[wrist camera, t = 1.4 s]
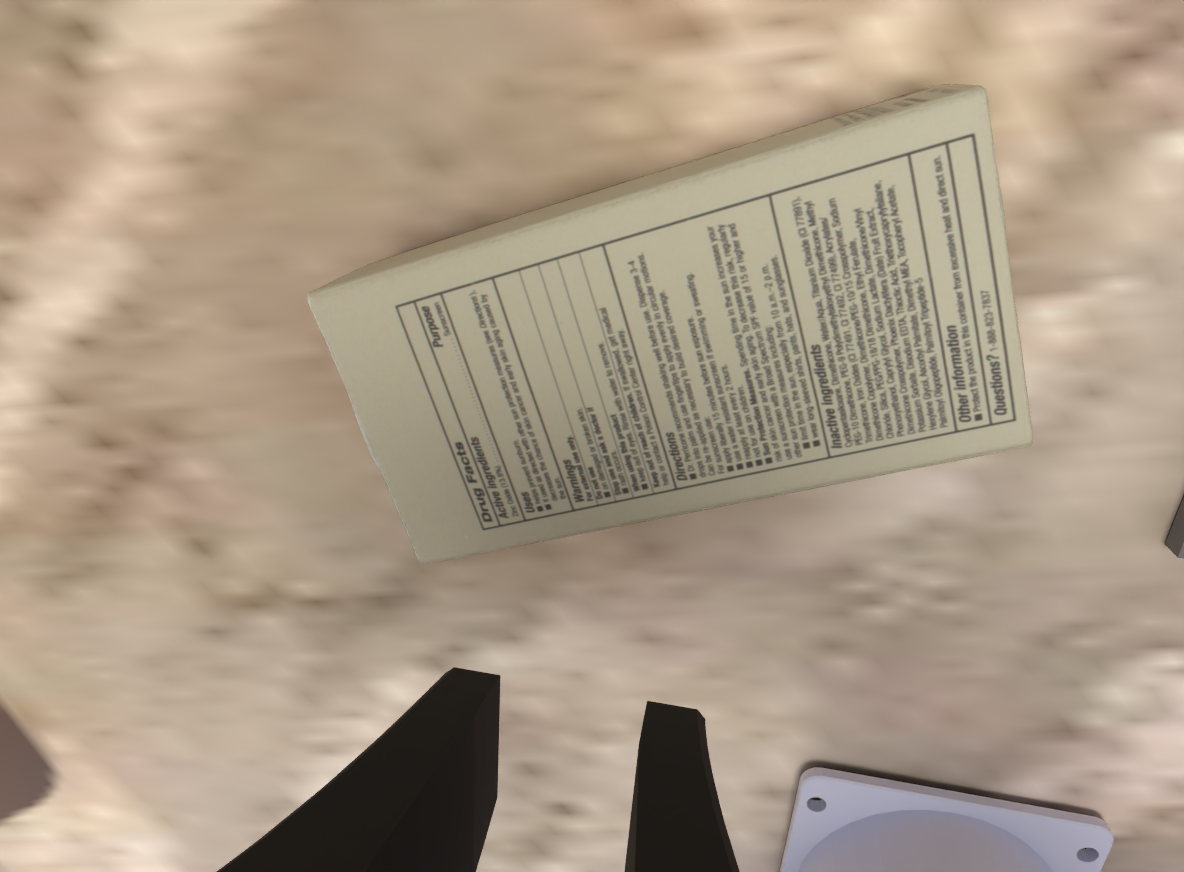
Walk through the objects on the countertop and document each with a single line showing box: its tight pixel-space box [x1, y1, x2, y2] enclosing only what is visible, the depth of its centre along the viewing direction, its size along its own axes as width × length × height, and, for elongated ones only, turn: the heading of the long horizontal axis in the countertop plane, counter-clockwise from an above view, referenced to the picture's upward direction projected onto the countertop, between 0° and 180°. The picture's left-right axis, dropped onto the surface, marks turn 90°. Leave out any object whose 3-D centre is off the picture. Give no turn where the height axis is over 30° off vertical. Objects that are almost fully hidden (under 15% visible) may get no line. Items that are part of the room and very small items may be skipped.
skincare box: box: [308, 84, 1033, 564], centre depth 16 cm, size 6×4×12 cm
